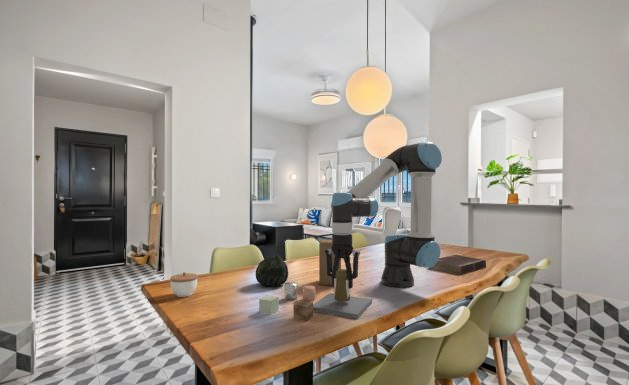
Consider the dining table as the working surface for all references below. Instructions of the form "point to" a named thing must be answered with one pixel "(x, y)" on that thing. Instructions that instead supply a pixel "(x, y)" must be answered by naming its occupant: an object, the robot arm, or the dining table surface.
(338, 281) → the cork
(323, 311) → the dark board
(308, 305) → the walnut block
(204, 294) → the dining table surface
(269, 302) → the sage block
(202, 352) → the dining table surface
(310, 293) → the peach rounded capsule
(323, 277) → the wooden block
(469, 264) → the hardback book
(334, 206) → the robot arm
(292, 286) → the metal tin
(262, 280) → the squash
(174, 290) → the lidded jar
